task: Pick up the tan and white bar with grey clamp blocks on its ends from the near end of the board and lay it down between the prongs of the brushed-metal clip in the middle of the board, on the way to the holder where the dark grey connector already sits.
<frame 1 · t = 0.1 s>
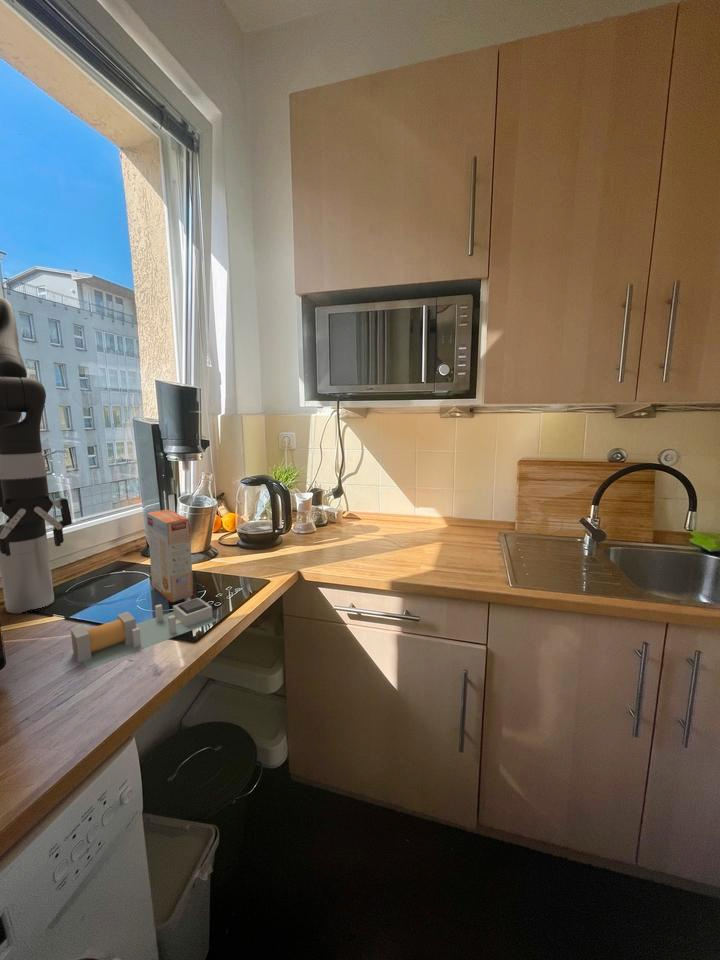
hand: (33, 550, 88), 17 cm above the worktop, tool pointing down, fingers open, 8 cm apart
tan and white bar: (106, 647, 81), point 1 cm above the worktop, touching board
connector: (193, 616, 94), resting on board
cracker box: (172, 593, 108), on the worktop
board: (149, 635, 87), on the worktop
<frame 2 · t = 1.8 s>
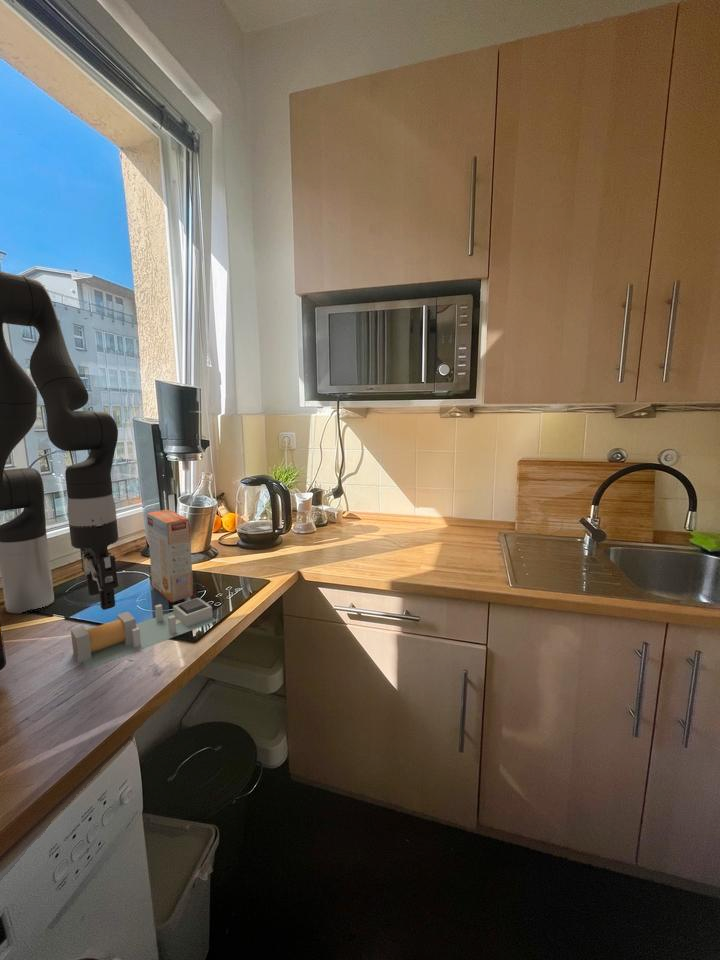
hand: (101, 600, 80), 11 cm above the worktop, tool pointing down, fingers open, 8 cm apart
nothing on the worktop moved.
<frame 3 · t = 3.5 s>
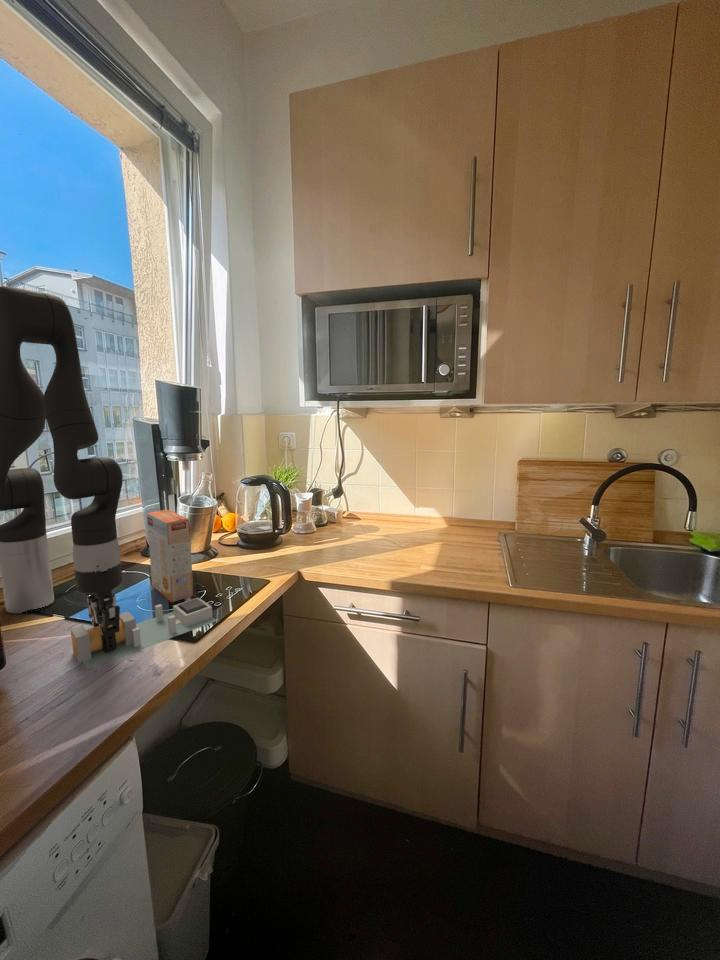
hand: (105, 645, 81), 1 cm above the worktop, tool pointing down, fingers closed on tan and white bar, 4 cm apart
tan and white bar: (106, 647, 81), point 1 cm above the worktop, touching board, gripper
everything else where it was.
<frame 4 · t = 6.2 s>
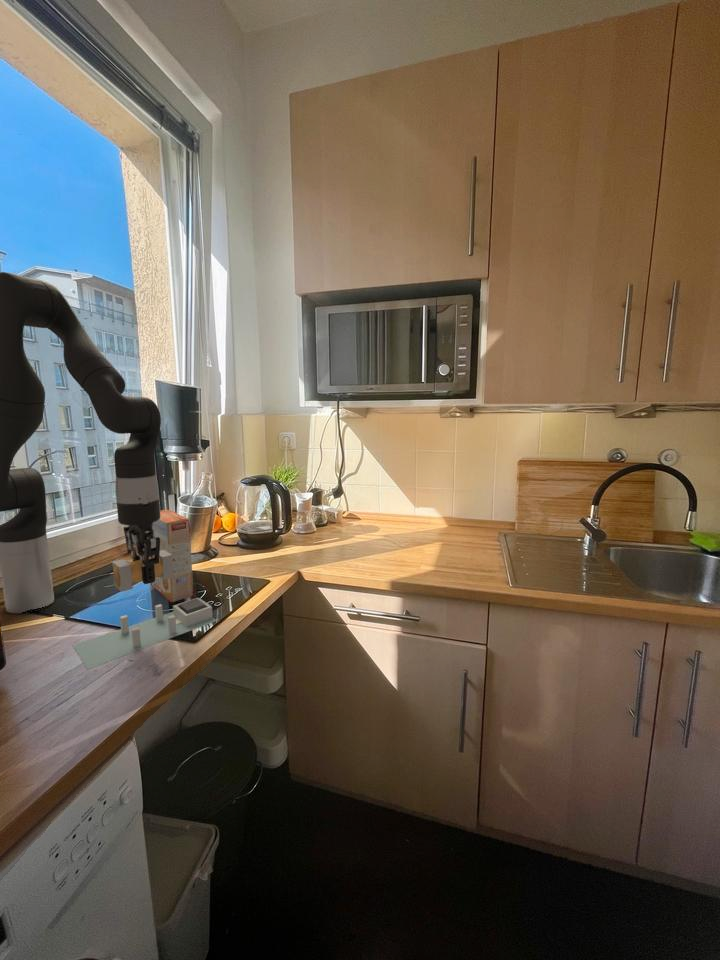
hand: (144, 578, 85), 13 cm above the worktop, tool pointing down, fingers closed on tan and white bar, 4 cm apart
tan and white bar: (144, 581, 85), point 12 cm above the worktop, touching gripper
everything else where it was.
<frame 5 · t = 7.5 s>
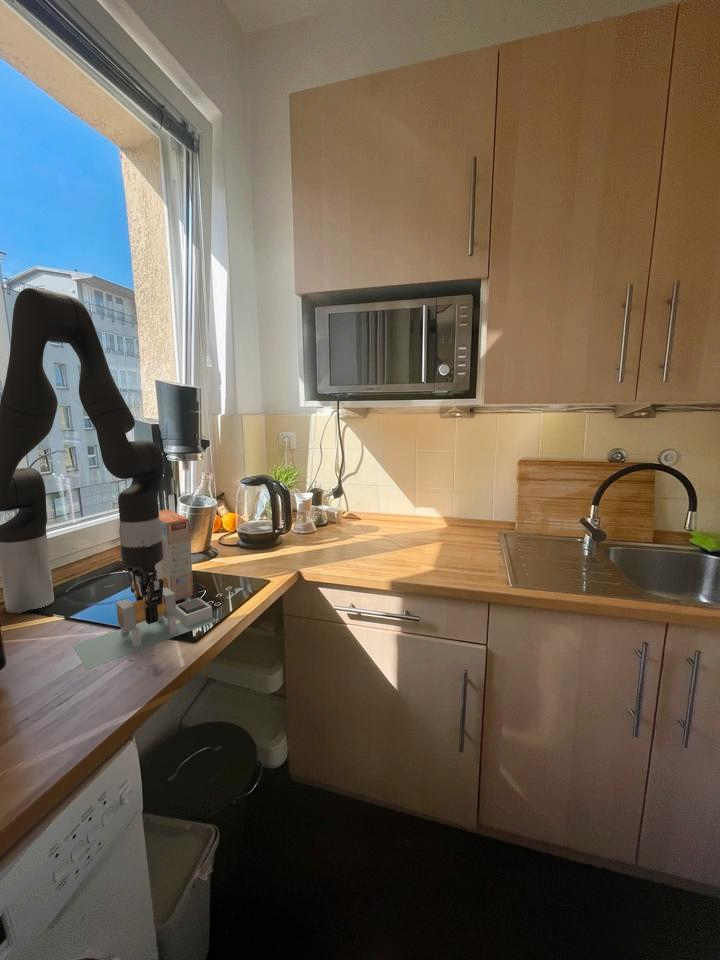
hand: (147, 617, 87), 4 cm above the worktop, tool pointing down, fingers closed on tan and white bar, 4 cm apart
tan and white bar: (148, 620, 87), point 4 cm above the worktop, touching gripper
everything else where it was.
when the fingers open (3 cm above the worktop, at t = 8.6 s): tan and white bar drops 2 cm, resting on board.
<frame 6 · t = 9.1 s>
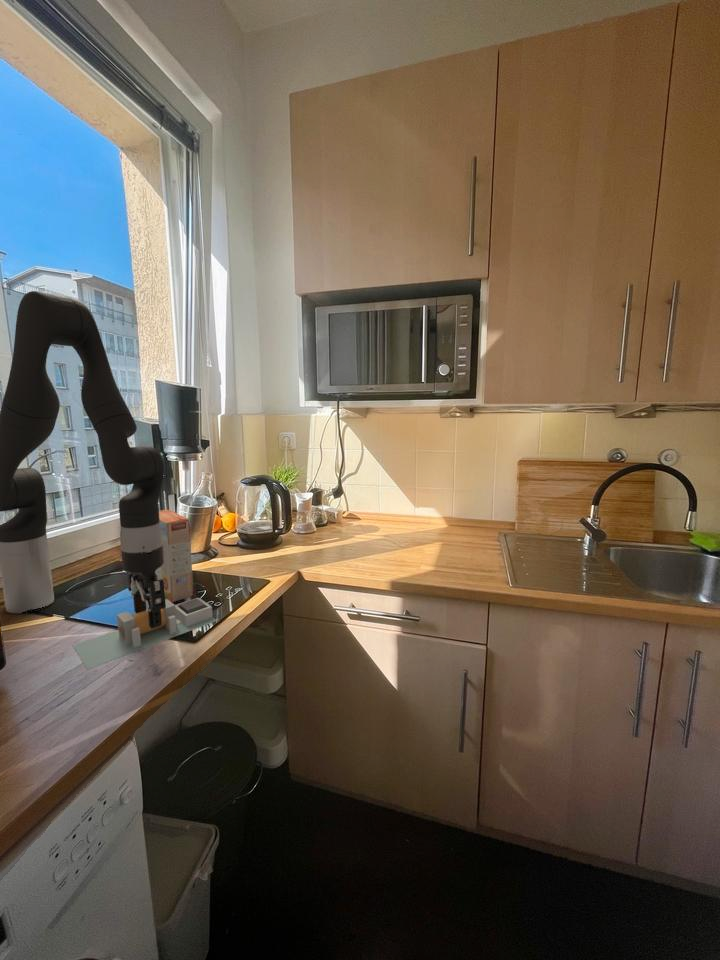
hand: (147, 619, 87), 4 cm above the worktop, tool pointing down, fingers open, 8 cm apart
tan and white bar: (148, 631, 87), point 1 cm above the worktop, touching board
everything else where it was.
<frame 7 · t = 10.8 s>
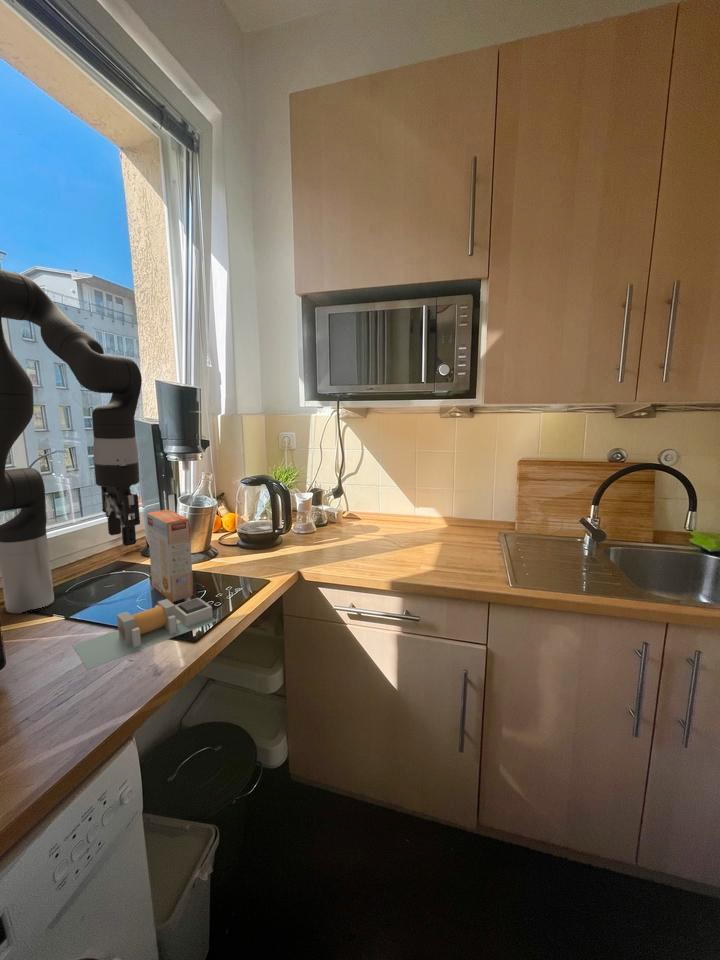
hand: (122, 539, 84), 21 cm above the worktop, tool pointing down, fingers open, 8 cm apart
nothing on the worktop moved.
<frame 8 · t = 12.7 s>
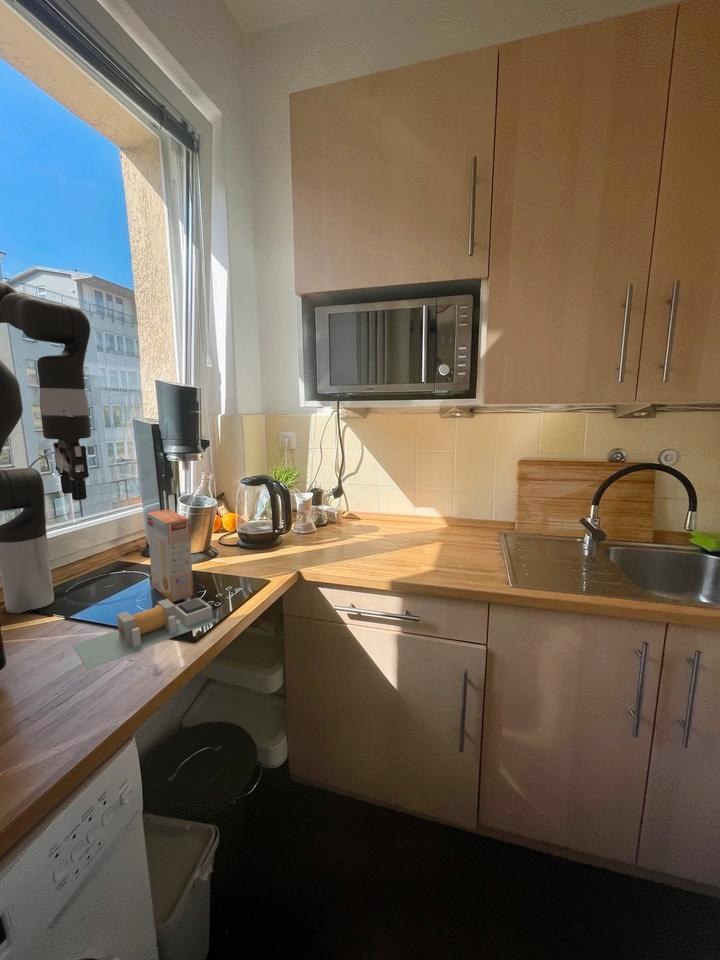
hand: (74, 496, 82), 30 cm above the worktop, tool pointing down, fingers open, 8 cm apart
nothing on the worktop moved.
at the end: tan and white bar 0.1 cm off-centre on the board, point 0.9 cm above the board's base; the gripper is holding nothing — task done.
